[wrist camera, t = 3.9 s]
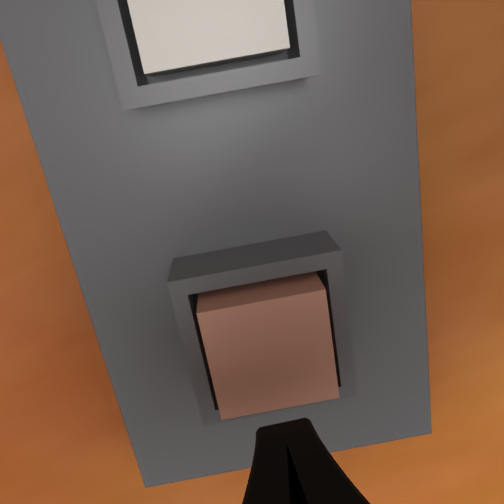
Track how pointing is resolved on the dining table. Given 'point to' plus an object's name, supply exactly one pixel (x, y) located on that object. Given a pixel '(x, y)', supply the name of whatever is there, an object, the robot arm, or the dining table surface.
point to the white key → (206, 32)
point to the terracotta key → (268, 344)
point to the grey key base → (235, 211)
